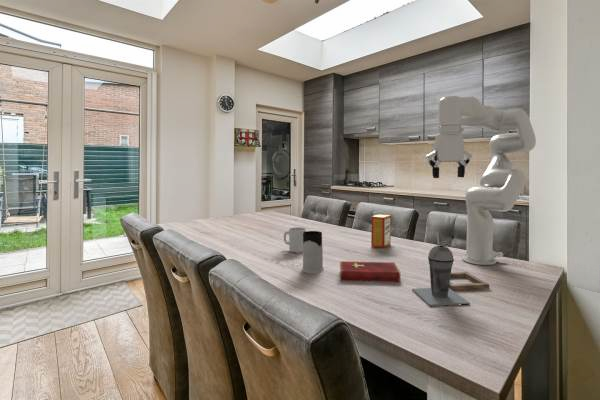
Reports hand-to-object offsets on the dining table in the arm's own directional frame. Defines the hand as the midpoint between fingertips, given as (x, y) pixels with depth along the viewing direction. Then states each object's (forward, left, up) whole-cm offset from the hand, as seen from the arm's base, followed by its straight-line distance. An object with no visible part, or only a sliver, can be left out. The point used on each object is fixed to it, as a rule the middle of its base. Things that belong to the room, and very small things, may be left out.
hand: (448, 177), depth 116 cm
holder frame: (+2, +13, -36) cm, 38 cm away
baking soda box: (+12, -41, -36) cm, 56 cm away
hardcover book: (+31, +2, -37) cm, 48 cm away
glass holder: (+50, -9, -36) cm, 62 cm away
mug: (+57, -37, -36) cm, 77 cm away
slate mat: (+15, +24, -36) cm, 46 cm away
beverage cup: (+15, +24, -36) cm, 45 cm away
